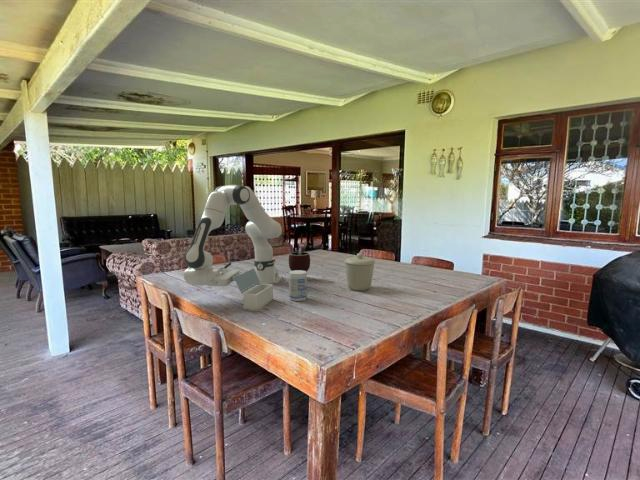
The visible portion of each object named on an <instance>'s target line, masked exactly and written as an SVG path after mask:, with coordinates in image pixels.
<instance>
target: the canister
mask: <svg viewBox="0 0 640 480" xmlns="http://www.w3.org/2000/svg"><path fill="white" fill-rule="evenodd" d="M343 262H344V264H345V273H346V284H347V287H348V289H350V290H353V291H359V292H360V291H366V290H367V291H368V290H369V289H371V286H372V282H373V276H374V275H373V274H374V268H375V263H376V260H374V259H373V258H371V257H367V256H364V255H363V253H359V252H358V253H357V254H356V256H351V257H347V258H346V259H345V260H344V261H343Z"/></svg>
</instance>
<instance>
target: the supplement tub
mask: <svg viewBox="0 0 640 480" xmlns="http://www.w3.org/2000/svg"><path fill="white" fill-rule="evenodd" d="M307 272H308V271H307ZM307 272H306V271H302V270H294V271H291V270H290V271H289V274H288V297H289V300H291V301H294V302H303V301H306V299H308V281H307V277H308V273H307Z"/></svg>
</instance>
